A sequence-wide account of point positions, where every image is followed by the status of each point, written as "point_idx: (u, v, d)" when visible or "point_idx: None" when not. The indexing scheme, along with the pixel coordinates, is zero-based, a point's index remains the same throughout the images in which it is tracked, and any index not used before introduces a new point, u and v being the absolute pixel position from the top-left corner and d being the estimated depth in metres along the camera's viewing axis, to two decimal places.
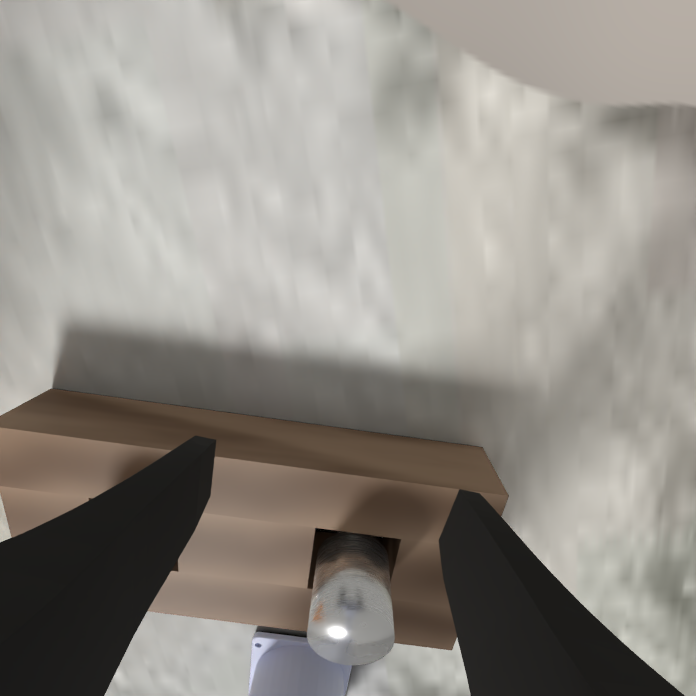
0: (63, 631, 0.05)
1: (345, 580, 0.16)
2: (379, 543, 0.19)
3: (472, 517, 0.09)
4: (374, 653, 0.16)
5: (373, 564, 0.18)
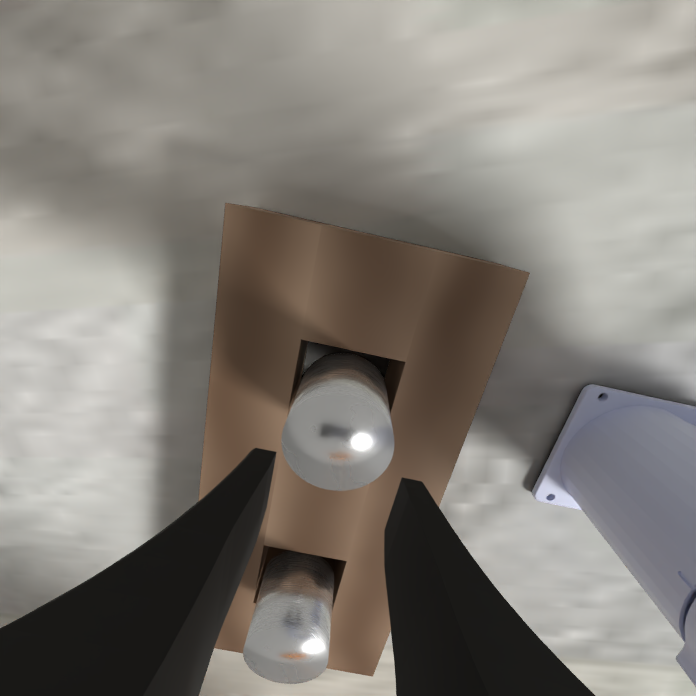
0: (184, 653, 0.05)
1: None
2: (319, 361, 0.16)
3: (408, 504, 0.09)
4: (371, 420, 0.12)
5: (301, 385, 0.14)
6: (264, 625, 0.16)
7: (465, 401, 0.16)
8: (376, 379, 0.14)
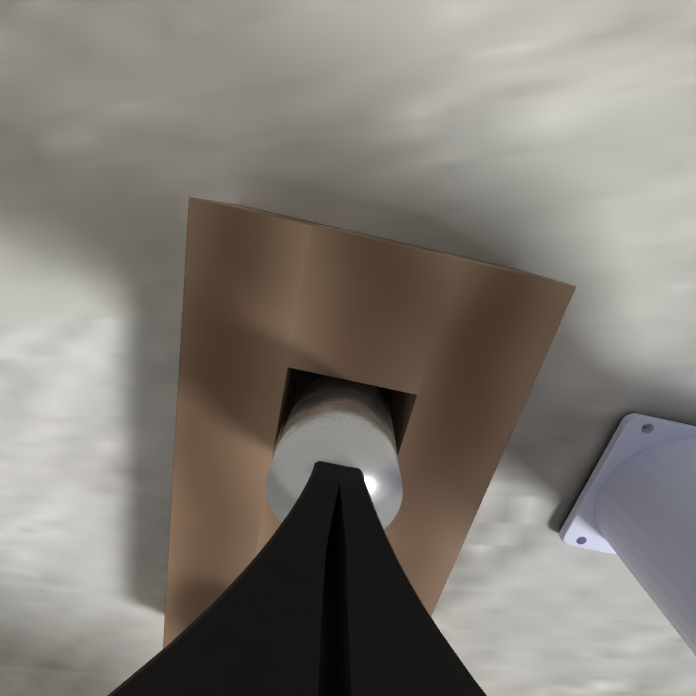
0: None
1: None
2: (313, 384, 0.13)
3: (338, 490, 0.09)
4: (374, 464, 0.10)
5: (291, 414, 0.12)
6: None
7: (490, 441, 0.13)
8: (380, 408, 0.12)
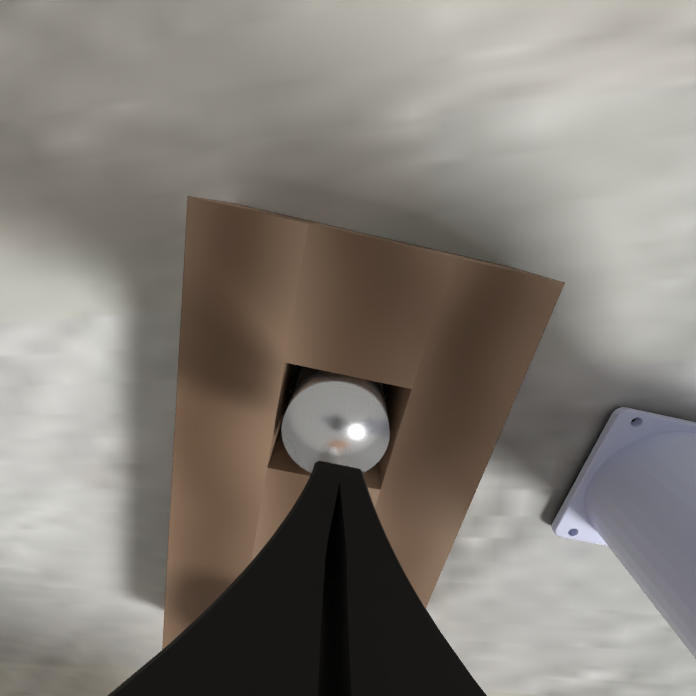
0: None
1: None
2: None
3: (338, 490, 0.09)
4: (367, 410, 0.13)
5: (300, 377, 0.15)
6: None
7: (482, 434, 0.13)
8: None
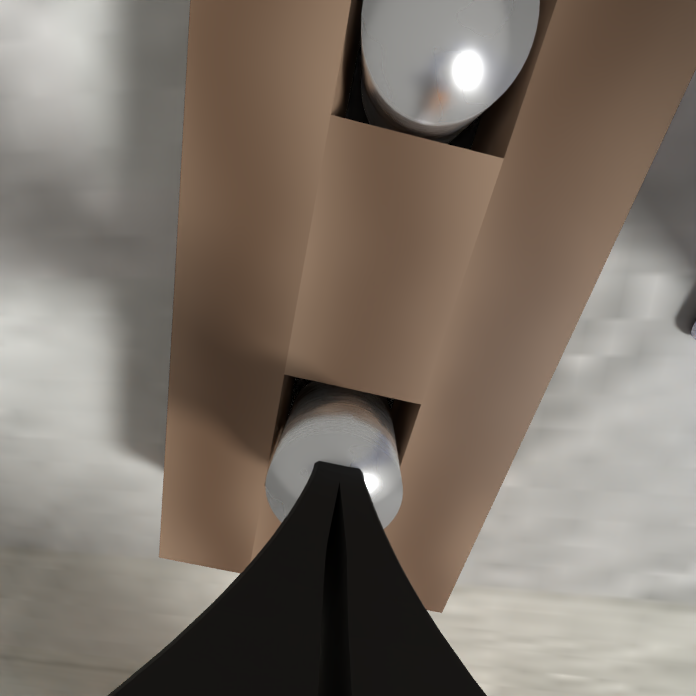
0: None
1: (361, 53, 0.09)
2: None
3: (338, 490, 0.09)
4: None
5: None
6: (301, 435, 0.10)
7: (685, 30, 0.08)
8: None
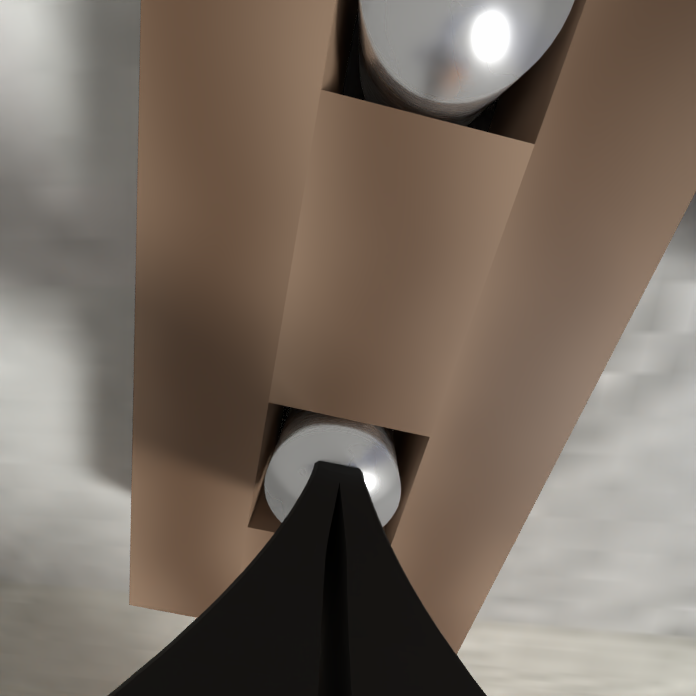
0: None
1: None
2: None
3: (338, 490, 0.09)
4: None
5: None
6: (300, 434, 0.10)
7: None
8: None
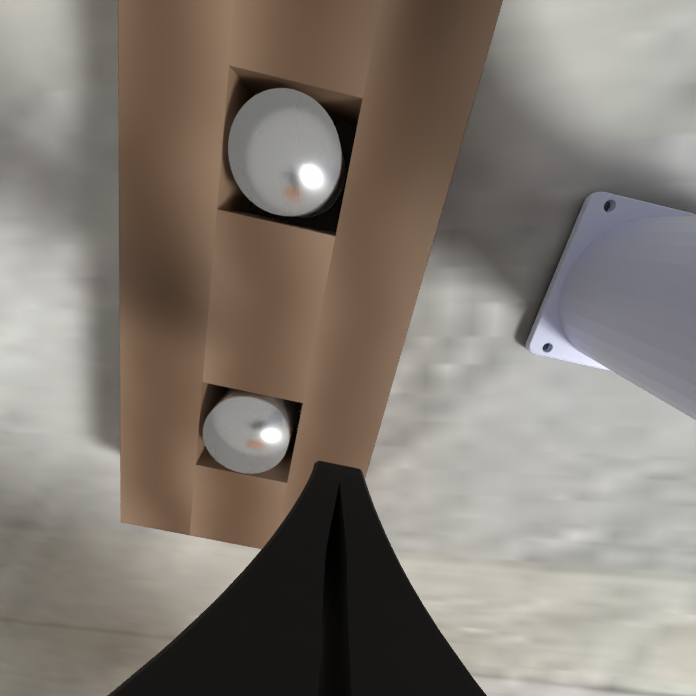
0: None
1: None
2: None
3: (338, 490, 0.09)
4: (316, 121, 0.12)
5: None
6: (223, 402, 0.16)
7: (439, 159, 0.12)
8: None
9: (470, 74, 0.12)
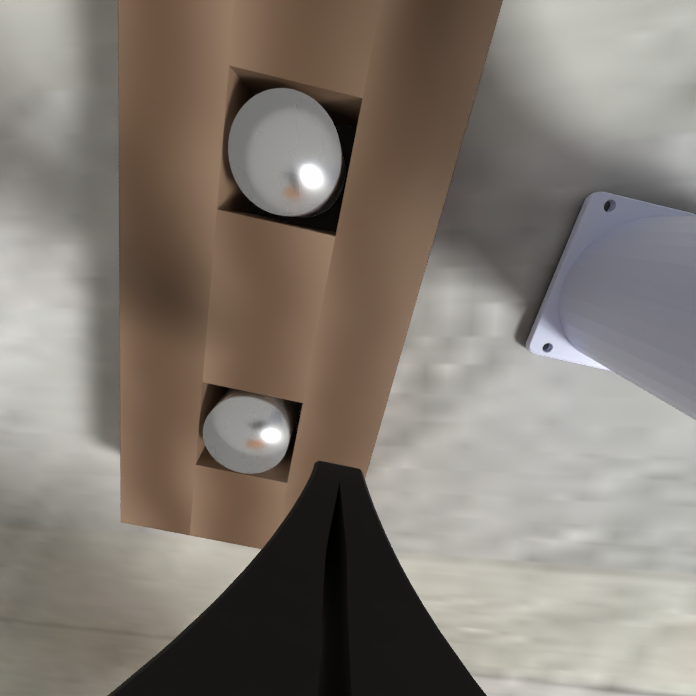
0: None
1: None
2: None
3: (338, 490, 0.09)
4: (316, 121, 0.12)
5: None
6: (223, 402, 0.16)
7: (439, 159, 0.12)
8: None
9: (470, 74, 0.12)
